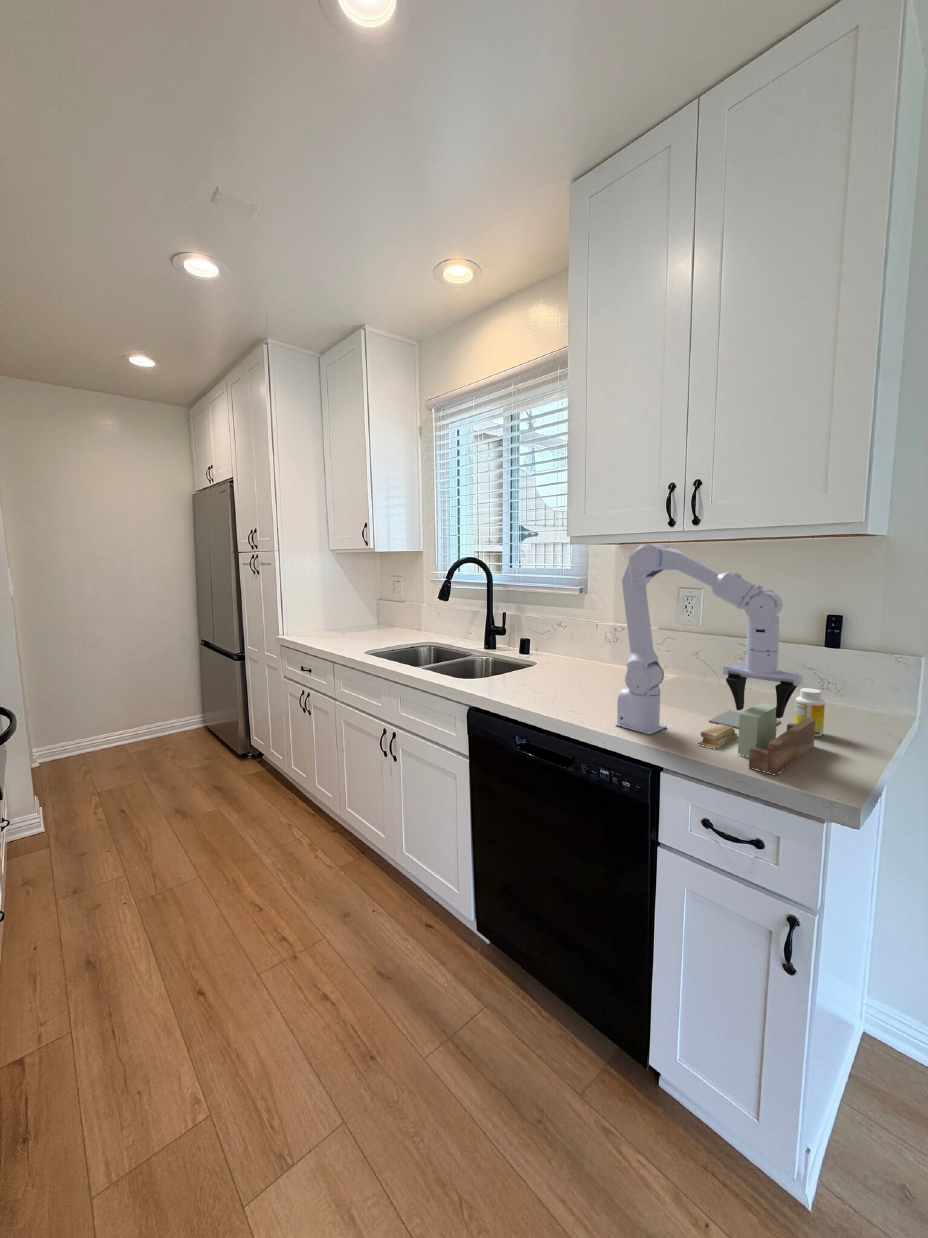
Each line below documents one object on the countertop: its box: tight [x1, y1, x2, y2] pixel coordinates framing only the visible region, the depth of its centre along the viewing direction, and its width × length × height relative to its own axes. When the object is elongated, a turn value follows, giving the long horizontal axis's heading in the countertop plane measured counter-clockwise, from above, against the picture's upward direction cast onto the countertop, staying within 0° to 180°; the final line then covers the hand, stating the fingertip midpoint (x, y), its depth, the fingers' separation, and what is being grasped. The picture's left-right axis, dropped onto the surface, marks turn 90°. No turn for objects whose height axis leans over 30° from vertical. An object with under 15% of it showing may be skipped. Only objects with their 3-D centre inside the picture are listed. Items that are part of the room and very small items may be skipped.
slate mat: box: [708, 710, 781, 730], centre depth 126 cm, size 12×12×1 cm
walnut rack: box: [748, 718, 815, 776], centre depth 104 cm, size 5×22×6 cm, turn 130°
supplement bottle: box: [793, 687, 826, 738], centre depth 117 cm, size 6×6×10 cm
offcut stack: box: [697, 724, 738, 749], centre depth 114 cm, size 4×12×3 cm, turn 131°
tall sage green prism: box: [737, 702, 778, 757], centre depth 108 cm, size 3×11×9 cm, turn 131°
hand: (759, 713), depth 107 cm, fingers open, 7 cm apart
